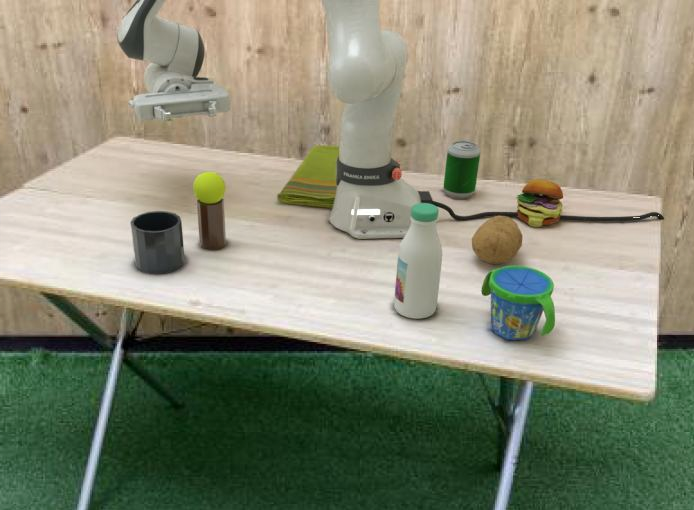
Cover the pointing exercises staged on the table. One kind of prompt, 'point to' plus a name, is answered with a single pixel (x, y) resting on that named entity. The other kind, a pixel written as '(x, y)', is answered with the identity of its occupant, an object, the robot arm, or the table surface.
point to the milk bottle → (419, 265)
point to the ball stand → (211, 225)
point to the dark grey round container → (158, 242)
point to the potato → (497, 240)
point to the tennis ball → (209, 187)
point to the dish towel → (313, 179)
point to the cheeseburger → (540, 203)
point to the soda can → (461, 169)
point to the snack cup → (519, 301)
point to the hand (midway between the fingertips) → (190, 115)
